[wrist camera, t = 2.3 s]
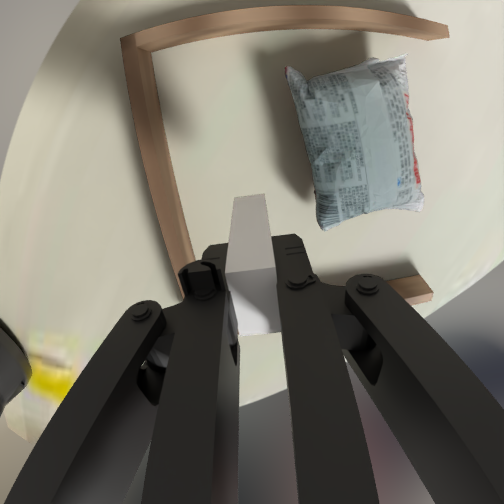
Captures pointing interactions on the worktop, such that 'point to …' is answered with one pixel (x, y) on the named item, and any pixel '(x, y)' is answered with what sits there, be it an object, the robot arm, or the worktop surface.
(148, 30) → the wooden frame
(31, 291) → the worktop surface
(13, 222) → the worktop surface
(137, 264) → the worktop surface
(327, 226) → the packaged food
